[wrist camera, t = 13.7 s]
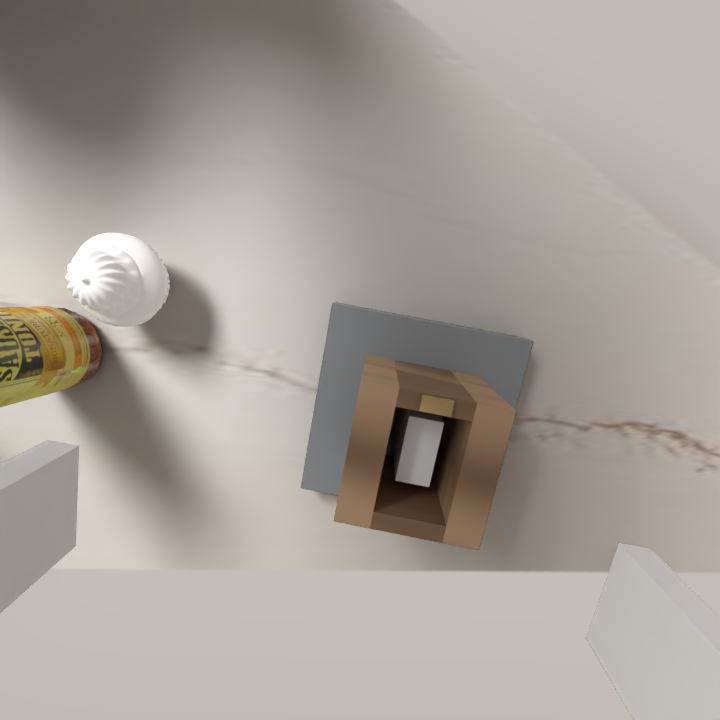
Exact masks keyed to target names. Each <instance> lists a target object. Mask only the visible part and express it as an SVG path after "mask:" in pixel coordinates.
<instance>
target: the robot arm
mask: <svg viewBox="0 0 720 720" xmlns="http://www.w3.org/2000/svg"><path fill="white" fill-rule="evenodd" d="M78 459H79V446H77V445H72V444H66V443H60V442H55V441H49V440H47V441H45V442H43V443H41V444H39V445H37V446H35V447H33V448H31V449H29V450H27V451H25V452H23V453H21V454H19V455H17V456H15V457H13V458H11V459H9V460H7V461H5V462H3V463H1V464H0V613H1V612H2V611H3V610H4V609H5V608H7V607H8V606H9V605H10V604H11V603H12V602H13V601H14V600H15V599H17V598H18V597H19V596H20V595H21V594H22V593H23V592H25V590H27V589H28V588H29V587H30V586H31V585H32V584H33V583H34V582H36V581H37V580H38V579H39V578H40V577H41V576H42V575H44V574H45V573H46V572H47V571H48V570H49V569H50V568H51V567H53V566H54V565H55V564H56V563H57V562H58V561H59V560H60V559H62V558H63V557H64V556H65V555H66V554H67V553H68V552H69V551H71V550H72V549H73V548H74V547H75V546H76V521H77V490H78ZM586 639H587V641H588V642H589V644H590V646H591V647H592V649H593V651H594V653H595V654H596V656H597V658H598V660H599V661H600V663H601V665H602V667H603V668H604V670H605V672H606V673H607V675H608V677H609V679H610V680H611V682H612V684H613V685H614V687H615V689H616V690H617V692H618V694H619V696H620V698H621V699H622V701H623V703H624V704H625V706H626V708H627V709H628V711H629V713H630V715H631V716H632V718H633V720H720V617H719V616H718V615H717V614H716V613H715V612H714V611H713V610H712V609H711V608H710V607H709V606H708V605H707V604H706V603H705V602H704V601H703V600H702V599H701V598H700V597H699V596H698V595H697V594H696V593H695V592H694V591H693V590H692V589H691V588H690V587H689V586H688V585H687V584H686V583H685V582H684V581H683V580H682V579H681V578H680V577H679V576H678V575H677V574H676V573H675V572H674V571H673V570H672V569H671V568H670V567H669V566H668V565H667V564H666V563H665V562H664V561H663V560H662V559H661V558H660V557H659V556H658V555H657V554H656V553H655V552H654V551H653V550H652V549H650V548H645V547H639V546H634V545H628V544H622V543H619V544H618V547H617V550H616V553H615V556H614V559H613V561H612V564H611V567H610V570H609V573H608V576H607V579H606V582H605V585H604V588H603V591H602V594H601V596H600V599H599V602H598V605H597V608H596V611H595V614H594V617H593V620H592V623H591V625H590V628H589V631H588V634H587V637H586Z"/></svg>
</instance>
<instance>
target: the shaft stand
mask: <svg viewBox="0 0 720 720" xmlns="http://www.w3.org/2000/svg"><path fill="white" fill-rule="evenodd" d="M532 345H533V341H530V340H527V339H525V338H521V337H516V336H510V335H505V334H500V333H494V332H489V331H484V330H479V329H473V328H468V327H463V326H457V325H452V324H447V323H442V322H436V321H431V320H426V319H420V318H415V317H410V316H405V315H399V314H394V313H389V312H383V311H378V310H373V309H368V308H362V307H357V306H352V305H347V304H341V303H336V302H335V303H332V308H331V314H330V320H329V325H328V331H327V337H326V343H325V349H324V355H323V361H322V366H321V372H320V378H319V384H318V390H317V396H316V402H315V407H314V413H313V419H312V425H311V431H310V437H309V443H308V448H307V454H306V460H305V466H304V472H303V478H302V484H301V488H303V489H308V490H313V491H318V492H323V493H328V494H333V495H338V496H339V491H340V485H341V480H342V475H343V470H344V465H345V459H346V454H347V449H348V444H349V439H350V433H351V428H352V423H353V418H354V412H355V407H356V402H357V397H358V392H359V386H360V381H361V376H362V372H363V367H364V362H365V357H366V354H367V355H372V356H377V357H383V358H388V359H393V360H398V361H403V362H409V363H414V364H419V365H424V366H429V367H435V368H440V369H445V370H450V371H455V372H461V373H466V374H471V375H476V376H479V377H480V378H481V379H483V380H484V381H485V382H486V383H487V384H488V385H489V386H490V387H491V388H492V389H493V390H495V391H496V392H497V393H498V394H499V395H500V396H501V397H502V398H503V399H504V400H505V401H507V402H508V403H509V404H510V405H511V406H512V407H513V408H514V409H515V408H516V405H517V401H518V397H519V394H520V390H521V386H522V382H523V379H524V375H525V371H526V367H527V364H528V360H529V356H530V353H531V349H532ZM443 426H444V421H443V419H442V417H441V415H436V414H431V413H426V412H420V411H415V410H410V409H405V408H400V407H395V411H394V416H393V421H392V426H391V430H390V435H389V440H388V444H387V449H386V454H388V455H393V458H394V471H395V481H400V482H405V483H410V484H415V485H420V486H425V487H429V485H430V481H431V477H432V473H433V468H434V464H435V460H436V456H437V451H438V447H439V443H440V439H441V434H442V430H443Z"/></svg>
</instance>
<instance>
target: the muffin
mask: <svg viewBox="0 0 720 720" xmlns="http://www.w3.org/2000/svg"><path fill="white" fill-rule="evenodd" d="M67 271H68V274H66V276H65V278H66V280H67V281H68V282H69V284H68V286H67V288H68V289H70V290H72V291H73V298H77V299H78V301H79V302H80V304H81V305H82V306H83V307H84V308H85V310H86V311H88V312H89V313H90V314H91V315H92V316H94V317H95V318H97V319H98V320H100V321H102V322H104V323H107V324H110V325H114V326H124V327H127V326H136V325H140V324H142V323H144V322H146V321H148V320H149V319H151V318H152V317H153V316H154V315H155V314H156V313H157V311H158V310H161V308H162V305H163V304H165V302H166V298H167V297H168V294H169V289H170V284H169V283H170V280H169V274H168V272H167V268H166V266H165V264H164V263H163V260H162V259H160V258H159V256H158V254H157V253H156V252H155V251H154V250H153V249H152V248H151V247H150V246H149V245H147V244H146V243H145V242H143V241H142V240H140V239H138V238H136V237H133V236H131V235H127V234H122V233H103V234H99V235H96V236H94V237H92V238H90V239H89V240H87V241H86V242H85V243H84V244H83V245H82V246H81V247H80V248H79V250H78V251H77V253H76V255H75V256H74V257H73V259H72V261H71V263H70V264H68V266H67Z"/></svg>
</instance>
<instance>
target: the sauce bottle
mask: <svg viewBox="0 0 720 720" xmlns="http://www.w3.org/2000/svg"><path fill="white" fill-rule="evenodd" d="M101 358H102V348H101V342H100V339H99V336H98V334H97V331H96V330H95V329H94V327H93V325H92V324H91V323H90V322H89V321H87V320H86V319H85V318H83V317H82V316H80V315H78V314H77V313H75V312H72V311H69V310H67V309H64V308H53V307H5V308H0V407H3V406H7V405H10V404H14V403H18V402H21V401H25V400H28V399H32V398H36V397H40V396H43V395H47V394H50V393H54V392H57V391H61V390H64V389H67V388H70V387H72V386H73V385H75V384H78V383H81V382H83V381H85V380H87V379H88V378H90V377H91V376H93V374H94V373H95V372H96V371H97V369H98V367H99V366H100V363H101Z"/></svg>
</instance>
